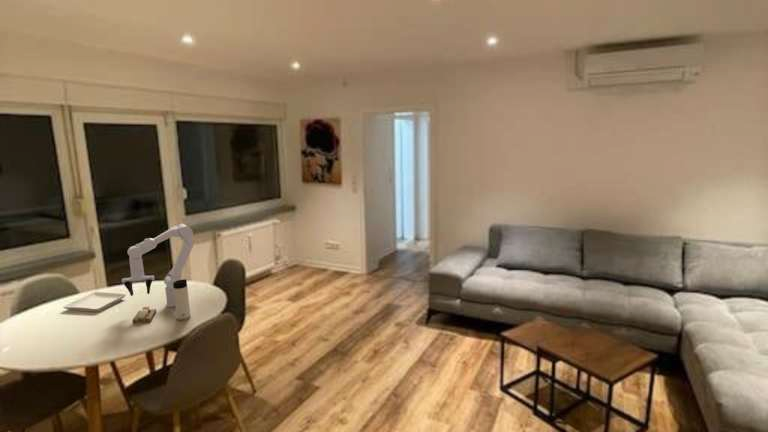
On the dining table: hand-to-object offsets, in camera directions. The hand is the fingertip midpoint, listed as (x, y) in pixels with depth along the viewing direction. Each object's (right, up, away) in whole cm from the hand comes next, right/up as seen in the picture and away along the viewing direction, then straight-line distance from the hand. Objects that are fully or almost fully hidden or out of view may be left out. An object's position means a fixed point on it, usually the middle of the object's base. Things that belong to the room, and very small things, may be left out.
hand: (140, 294), depth 223 cm
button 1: (+7, -10, -11) cm, 16 cm away
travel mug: (+26, -11, -7) cm, 29 cm away
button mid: (+6, -9, -7) cm, 13 cm away
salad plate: (-30, -8, +11) cm, 34 cm away
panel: (+6, -11, -7) cm, 14 cm away
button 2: (+5, -8, -4) cm, 10 cm away
